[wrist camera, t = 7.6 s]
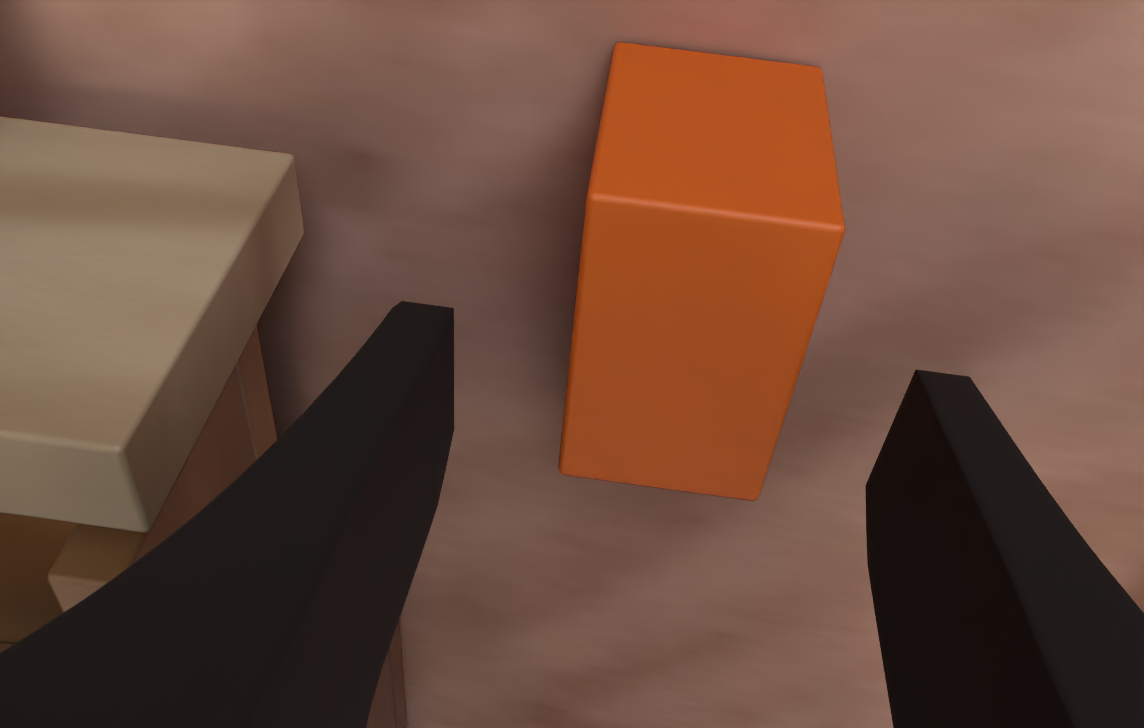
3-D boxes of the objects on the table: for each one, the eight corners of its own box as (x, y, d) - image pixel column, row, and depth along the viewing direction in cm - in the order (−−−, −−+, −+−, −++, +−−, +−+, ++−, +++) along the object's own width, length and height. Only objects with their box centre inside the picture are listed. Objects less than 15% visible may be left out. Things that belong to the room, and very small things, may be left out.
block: (614, 38, 12) (586, 193, 9) (824, 65, 12) (848, 227, 9) (572, 412, 16) (545, 583, 14) (725, 433, 16) (724, 608, 13)
